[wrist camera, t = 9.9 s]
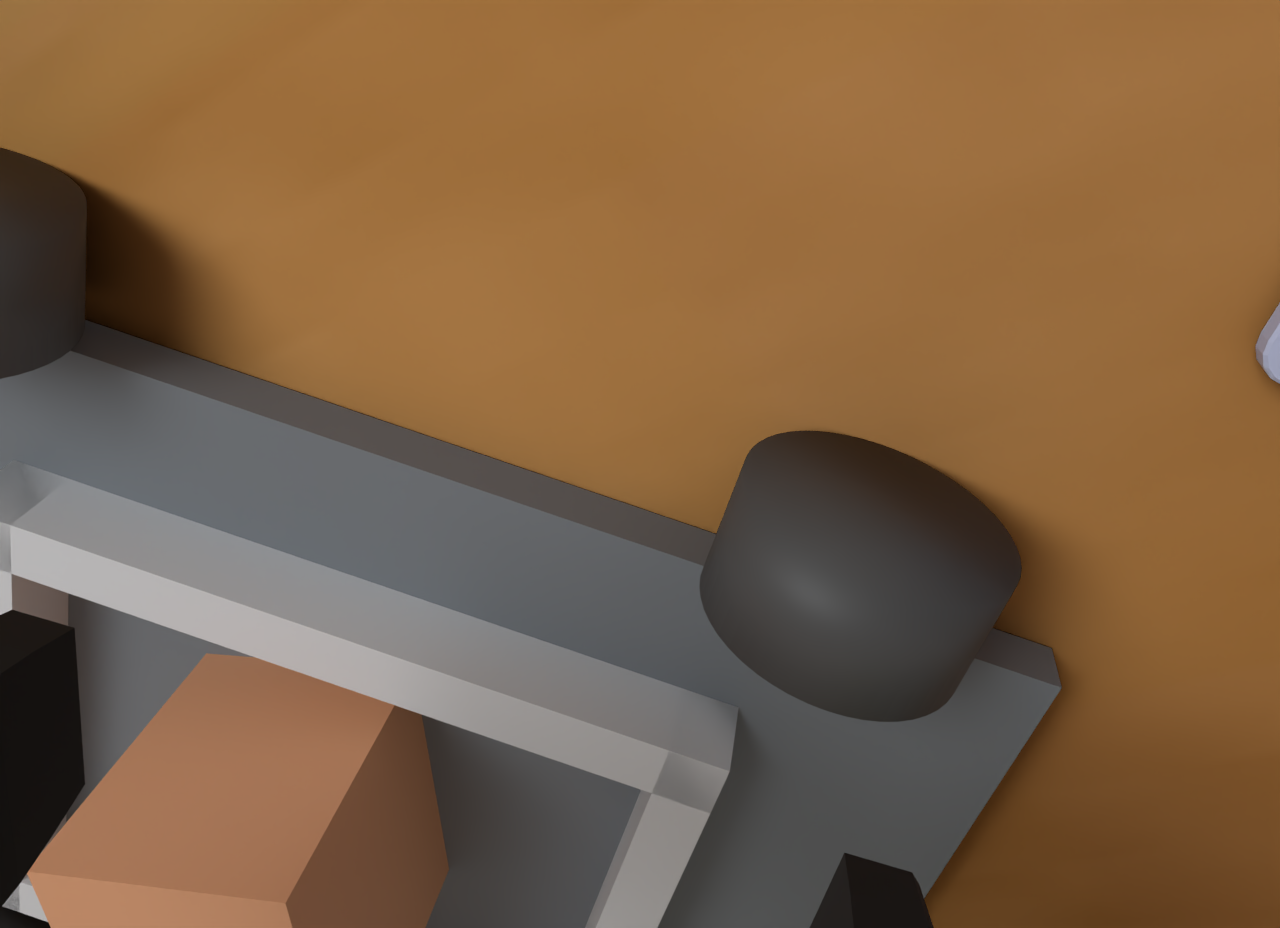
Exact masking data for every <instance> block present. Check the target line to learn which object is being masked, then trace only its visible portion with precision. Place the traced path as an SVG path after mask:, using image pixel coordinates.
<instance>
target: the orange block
mask: <svg viewBox="0 0 1280 928" xmlns="http://www.w3.org/2000/svg"><path fill="white" fill-rule="evenodd" d="M448 871H449V866H448V860H447V855H446V849H445V843H444V838H443V832H442V826H441V821H440V815H439V810H438V804H437V798H436V793H435V787H434V781H433V776H432V770H431V765H430V759H429V753H428V748H427V742H426V737H425V731H424V725H423V720H422V714H419V713H416V712H413V711H410V710H407V709H404V708H401V707H398V706H396V705H393V704H390V703H387V702H384V701H381V700H378V699H375V698H372V697H369V696H366V695H363V694H361V693H358V692H355V691H352V690H349V689H346V688H343V687H340V686H337V685H334V684H331V683H328V682H326V681H323V680H320V679H317V678H314V677H311V676H308V675H305V674H302V673H299V672H296V671H294V670H291V669H288V668H285V667H282V666H279V665H276V664H273V663H270V662H267V661H264V660H261V659H259V658H256V657H244V656H232V655H220V654H208V653H206V654H205V656H204V657H203V658H202V659H201V660H200V662H199V663H198V664H197V665H196V666H195V668H194V669H193V670H192V671H191V673H190V674H189V675H188V676H187V677H186V679H185V680H184V681H183V682H182V683H181V685H180V686H179V687H178V688H177V689H176V691H175V692H174V693H173V694H172V695H171V697H170V698H169V699H168V700H167V702H166V703H165V704H164V705H163V706H162V708H161V709H160V710H159V711H158V712H157V714H156V715H155V716H154V717H153V718H152V720H151V721H150V722H149V723H148V725H147V726H146V727H145V728H144V729H143V731H142V732H141V733H140V734H139V735H138V737H137V738H136V739H135V740H134V741H133V743H132V744H131V745H130V746H129V747H128V749H127V750H126V751H125V752H124V754H123V755H122V756H121V757H120V758H119V760H118V761H117V762H116V763H115V764H114V766H113V767H112V768H111V769H110V770H109V772H108V773H107V774H106V775H105V776H104V778H103V779H102V780H101V781H100V783H99V784H98V785H97V786H96V787H95V789H94V790H93V791H92V792H91V793H90V795H89V796H88V797H87V798H86V799H85V801H84V802H83V803H82V804H81V805H80V807H79V808H78V809H77V810H76V812H75V813H74V814H73V815H72V816H71V818H70V819H69V820H68V821H67V822H66V824H65V825H64V826H63V827H62V828H61V830H60V831H59V832H58V833H57V834H56V836H55V837H54V838H53V839H52V841H51V842H50V843H49V844H48V845H47V847H46V848H45V849H44V850H43V851H42V853H41V854H40V855H39V856H38V858H37V859H36V861H35V862H34V864H33V865H32V867H31V868H30V870H29V871H28V873H27V875H28V877H29V879H30V882H31V884H32V886H33V888H34V891H35V893H36V895H37V897H38V900H39V902H40V904H41V907H42V909H43V911H44V913H45V916H46V918H47V920H48V922H49V925H50V927H51V928H425V927H426V925H427V922H428V920H429V917H430V915H431V913H432V910H433V908H434V905H435V903H436V900H437V898H438V895H439V893H440V890H441V888H442V885H443V883H444V881H445V878H446V876H447V873H448Z"/></svg>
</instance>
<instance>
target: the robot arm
mask: <svg viewBox="0 0 1280 928" xmlns="http://www.w3.org/2000/svg"><path fill="white" fill-rule="evenodd" d="M1256 359H1257V360H1258V362H1259V364H1260V365H1261V367H1262V368H1263V370H1264V371H1265V372H1266V373H1267V375H1268V376H1269V377H1270V378H1271V379H1272V380H1274V381H1276V382H1277V383H1279V384H1280V303H1279V305H1278V306H1277V308H1276V310H1275V311H1274V313H1273V314H1272V316H1271V317H1270V319H1269V321H1268V322H1267V324H1266V325H1265V327H1264V328H1263V330H1262V332H1261V333H1260V336H1259V338H1258V341H1257V344H1256ZM84 785H85V775H84V760H83V745H82V730H81V715H80V700H79V685H78V670H77V655H76V640H75V628H74V627H70V626H67V625H63V624H60V623H57V622H53V621H50V620H46V619H43V618H39V617H36V616H33V615H29V614H26V613H22V612H19V611H15V610H10V611H8V612H6V613H4V614H1V615H0V908H1V907H2V906H3V904H4V903H5V902H6V901H7V899H8V898H9V897H10V896H11V894H12V893H13V892H14V891H15V890H16V888H17V887H18V886H19V884H20V883H21V882H22V880H23V879H24V877H25V876H26V874H27V873H28V871H29V870H30V868H31V867H32V865H33V864H34V862H35V861H36V859H37V858H38V856H39V855H40V854H41V852H42V851H43V849H44V848H45V846H46V845H47V843H48V842H49V840H50V839H51V837H52V836H53V834H54V832H55V831H56V829H57V828H58V826H59V825H60V823H61V821H62V820H63V818H64V817H65V815H66V814H67V812H68V810H69V809H70V807H71V806H72V804H73V803H74V801H75V799H76V798H77V796H78V795H79V793H80V792H81V790H82V788H83V787H84ZM810 928H933V925H932V922H931V919H930V916H929V913H928V910H927V907H926V904H925V900H924V897H923V894H922V891H921V888H920V885H919V883H918V881H917V880H916V878H915V876H914V875H913V873H912V872H910V871H906V870H903V869H899V868H896V867H892V866H889V865H886V864H882V863H879V862H875V861H872V860H868V859H865V858H862V857H858V856H855V855H851V854H848V853H844V854H843V857H842V859H841V861H840V863H839V865H838V867H837V870H836V872H835V874H834V876H833V878H832V880H831V883H830V885H829V887H828V889H827V891H826V893H825V896H824V898H823V900H822V902H821V904H820V906H819V909H818V911H817V913H816V915H815V917H814V919H813V922H812V924H811V926H810Z"/></svg>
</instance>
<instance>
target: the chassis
mask: <svg viewBox="0 0 1280 928" xmlns="http://www.w3.org/2000/svg"><path fill="white" fill-rule="evenodd" d="M86 230H87V200H86V197H85V195H84V192H83V191H82V190H81V188H80V187H79V186H78V185H77V184H76V183H75V182H74V181H73V180H72V179H71V178H69V177H68V176H66V175H65V174H63V173H62V172H60V171H58V170H57V169H55V168H53V167H51V166H49V165H47V164H45V163H43V162H40V161H38V160H36V159H33V158H30V157H28V156H25V155H22V154H19V153H16V152H13V151H10V150H6V149H3V148H0V615H1V614H4V613H6V612H8V611H10V610H15V611H19V612H22V613H26V614H29V615H33V616H36V617H39V618H43V619H46V620H50V621H53V622H57V623H60V624H63V625H67V626H70V627H74V628H75V640H76V655H77V670H78V685H79V700H80V715H81V730H82V745H83V760H84V775H85V785H84V787H83V788H82V790H81V792H80V793H79V795H78V796H77V798H76V799H75V801H74V803H73V804H72V806H71V807H70V809H69V810H68V812H67V814H66V815H65V817H64V818H63V820H62V821H61V823H60V825H59V826H58V828H57V829H56V831H55V832H54V834H53V836H52V837H51V839H50V840H49V842H48V843H47V845H48V844H49V843H50V842H51V841H52V839H53V838H54V837H55V836H56V834H57V833H58V832H59V831H60V830H61V828H62V827H63V826H64V825H65V824H66V822H67V821H68V820H69V819H70V818H71V816H72V815H73V814H74V813H75V812H76V810H77V809H78V808H79V807H80V805H81V804H82V803H83V802H84V801H85V799H86V798H87V797H88V796H89V795H90V793H91V792H92V791H93V790H94V789H95V787H96V786H97V785H98V784H99V783H100V781H101V780H102V779H103V778H104V776H105V775H106V774H107V773H108V772H109V770H110V769H111V768H112V767H113V766H114V764H115V763H116V762H117V761H118V760H119V758H120V757H121V756H122V755H123V754H124V752H125V751H126V750H127V749H128V747H129V746H130V745H131V744H132V743H133V741H134V740H135V739H136V738H137V737H138V735H139V734H140V733H141V732H142V731H143V729H144V728H145V727H146V726H147V725H148V723H149V722H150V721H151V720H152V718H153V717H154V716H155V715H156V714H157V712H158V711H159V710H160V709H161V708H162V706H163V705H164V704H165V703H166V702H167V700H168V699H169V698H170V697H171V695H172V694H173V693H174V692H175V691H176V689H177V688H178V687H179V686H180V685H181V683H182V682H183V681H184V680H185V679H186V677H187V676H188V675H189V674H190V673H191V671H192V670H193V669H194V668H195V666H196V665H197V664H198V663H199V662H200V660H201V659H202V658H203V657H204V656H205V654H206V653H208V654H220V655H232V656H244V657H256V658H259V659H261V660H264V661H267V662H270V663H273V664H276V665H279V666H282V667H285V668H288V669H291V670H294V671H296V672H299V673H302V674H305V675H308V676H311V677H314V678H317V679H320V680H323V681H326V682H328V683H331V684H334V685H337V686H340V687H343V688H346V689H349V690H352V691H355V692H358V693H361V694H363V695H366V696H369V697H372V698H375V699H378V700H381V701H384V702H387V703H390V704H393V705H396V706H398V707H401V708H404V709H407V710H410V711H413V712H416V713H419V714H422V720H423V725H424V731H425V737H426V742H427V748H428V753H429V759H430V765H431V770H432V776H433V781H434V787H435V793H436V798H437V804H438V810H439V815H440V821H441V826H442V832H443V838H444V843H445V849H446V855H447V860H448V866H449V871H448V873H447V876H446V878H445V881H444V883H443V885H442V888H441V890H440V893H439V895H438V898H437V900H436V903H435V905H434V908H433V910H432V913H431V915H430V917H429V920H428V922H427V925H426V927H425V928H810V926H811V924H812V922H813V919H814V917H815V915H816V913H817V911H818V909H819V906H820V904H821V902H822V900H823V898H824V896H825V893H826V891H827V889H828V887H829V885H830V883H831V880H832V878H833V876H834V874H835V872H836V870H837V867H838V865H839V863H840V861H841V859H842V857H843V854H844V853H848V854H851V855H855V856H858V857H862V858H865V859H868V860H872V861H875V862H879V863H882V864H886V865H889V866H892V867H896V868H899V869H903V870H906V871H910V872H912V873H913V875H914V876H915V878H916V880H917V881H918V883H919V885H920V888H921V891H922V894H923V897H924V898H925V896H926V895H927V893H928V892H929V890H930V889H931V887H932V886H933V884H934V883H935V881H936V880H937V878H938V877H939V875H940V873H941V872H942V870H943V869H944V867H945V866H946V864H947V863H948V861H949V860H950V858H951V857H952V855H953V854H954V852H955V851H956V849H957V847H958V846H959V844H960V843H961V841H962V840H963V838H964V837H965V835H966V834H967V832H968V831H969V829H970V828H971V826H972V824H973V823H974V821H975V820H976V818H977V817H978V815H979V814H980V812H981V811H982V809H983V808H984V806H985V805H986V803H987V802H988V800H989V798H990V797H991V795H992V794H993V792H994V791H995V789H996V788H997V786H998V785H999V783H1000V782H1001V780H1002V779H1003V777H1004V775H1005V774H1006V772H1007V771H1008V769H1009V768H1010V766H1011V765H1012V763H1013V762H1014V760H1015V759H1016V757H1017V756H1018V754H1019V752H1020V751H1021V749H1022V748H1023V746H1024V745H1025V743H1026V742H1027V740H1028V739H1029V737H1030V736H1031V734H1032V733H1033V731H1034V730H1035V728H1036V726H1037V725H1038V723H1039V722H1040V720H1041V719H1042V717H1043V716H1044V714H1045V713H1046V711H1047V710H1048V708H1049V707H1050V705H1051V703H1052V702H1053V700H1054V699H1055V697H1056V696H1057V694H1058V693H1059V691H1060V690H1061V688H1062V687H1061V683H1060V679H1059V675H1058V671H1057V667H1056V663H1055V659H1054V655H1053V651H1052V648H1050V647H1047V646H1044V645H1041V644H1038V643H1035V642H1032V641H1029V640H1026V639H1023V638H1020V637H1017V636H1014V635H1011V634H1008V633H1005V632H1003V631H1000V630H997V629H994V628H993V626H994V624H995V622H996V621H997V619H998V617H999V616H1000V614H1001V612H1002V611H1003V609H1004V607H1005V605H1006V604H1007V602H1008V600H1009V599H1010V597H1011V595H1012V593H1013V592H1014V590H1015V588H1016V587H1017V584H1018V582H1019V580H1020V577H1021V569H1022V567H1021V560H1020V555H1019V553H1018V550H1017V547H1016V545H1015V543H1014V541H1013V539H1012V537H1011V536H1010V534H1009V533H1008V531H1007V530H1006V528H1005V527H1004V526H1003V524H1002V523H1001V522H1000V521H999V520H998V518H997V517H996V516H995V515H994V514H993V513H992V512H991V511H990V510H989V509H988V508H987V507H986V506H985V505H984V504H983V503H982V502H981V501H979V500H978V499H977V498H976V497H975V496H973V495H972V494H971V493H970V492H968V491H967V490H966V489H964V488H963V487H962V486H960V485H959V484H958V483H956V482H955V481H953V480H951V479H950V478H948V477H947V476H945V475H944V474H942V473H940V472H939V471H937V470H935V469H933V468H932V467H930V466H928V465H926V464H924V463H922V462H920V461H918V460H916V459H914V458H912V457H910V456H908V455H905V454H903V453H901V452H898V451H896V450H893V449H891V448H888V447H885V446H883V445H880V444H877V443H874V442H870V441H867V440H864V439H860V438H856V437H852V436H847V435H842V434H836V433H830V432H820V431H793V432H786V433H780V434H776V435H773V436H770V437H768V438H766V439H764V440H762V441H760V442H759V443H757V444H756V445H755V446H754V447H753V448H752V449H751V450H750V452H749V453H748V455H747V457H746V459H745V462H744V464H743V467H742V469H741V472H740V475H739V477H738V480H737V482H736V485H735V487H734V490H733V492H732V495H731V498H730V500H729V503H728V505H727V508H726V510H725V513H724V515H723V518H722V521H721V523H720V526H719V528H718V531H717V533H716V534H714V533H711V532H708V531H705V530H702V529H699V528H696V527H694V526H691V525H688V524H685V523H682V522H679V521H676V520H673V519H670V518H667V517H664V516H661V515H658V514H655V513H652V512H649V511H646V510H643V509H641V508H638V507H635V506H632V505H629V504H626V503H623V502H620V501H617V500H614V499H611V498H608V497H605V496H602V495H599V494H596V493H593V492H591V491H588V490H585V489H582V488H579V487H576V486H573V485H570V484H567V483H564V482H561V481H558V480H555V479H552V478H549V477H546V476H543V475H540V474H538V473H535V472H532V471H529V470H526V469H523V468H520V467H517V466H514V465H511V464H508V463H505V462H502V461H499V460H496V459H493V458H490V457H488V456H485V455H482V454H479V453H476V452H473V451H470V450H467V449H464V448H461V447H458V446H455V445H452V444H449V443H446V442H443V441H440V440H437V439H435V438H432V437H429V436H426V435H423V434H420V433H417V432H414V431H411V430H408V429H405V428H402V427H399V426H396V425H393V424H390V423H387V422H385V421H382V420H379V419H376V418H373V417H370V416H367V415H364V414H361V413H358V412H355V411H352V410H349V409H346V408H343V407H340V406H337V405H334V404H332V403H329V402H326V401H323V400H320V399H317V398H314V397H311V396H308V395H305V394H302V393H299V392H296V391H293V390H290V389H287V388H284V387H282V386H279V385H276V384H273V383H270V382H267V381H264V380H261V379H258V378H255V377H252V376H249V375H246V374H243V373H240V372H237V371H234V370H231V369H229V368H226V367H223V366H220V365H217V364H214V363H211V362H208V361H205V360H202V359H199V358H196V357H193V356H190V355H187V354H184V353H181V352H179V351H176V350H173V349H170V348H167V347H164V346H161V345H158V344H155V343H152V342H149V341H146V340H143V339H140V338H137V337H134V336H131V335H128V334H126V333H123V332H120V331H117V330H114V329H111V328H108V327H105V326H102V325H99V324H96V323H93V322H90V321H87V320H85V291H86ZM47 845H46V846H45V848H46V847H47ZM45 848H44V849H45ZM44 849H43V850H44ZM41 853H42V852H41ZM0 928H51V927H50V925H49V922H48V920H47V918H46V916H45V913H44V911H43V909H42V907H41V904H40V902H39V900H38V897H37V895H36V893H35V891H34V888H33V886H32V884H31V882H30V879H29V877H28V875H27V874H26V876H25V877H24V879H23V880H22V882H21V883H20V884H19V886H18V887H17V888H16V890H15V891H14V892H13V893H12V894H11V896H10V897H9V898H8V899H7V901H6V902H5V903H4V904H3V906H2V907H1V908H0Z"/></svg>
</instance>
